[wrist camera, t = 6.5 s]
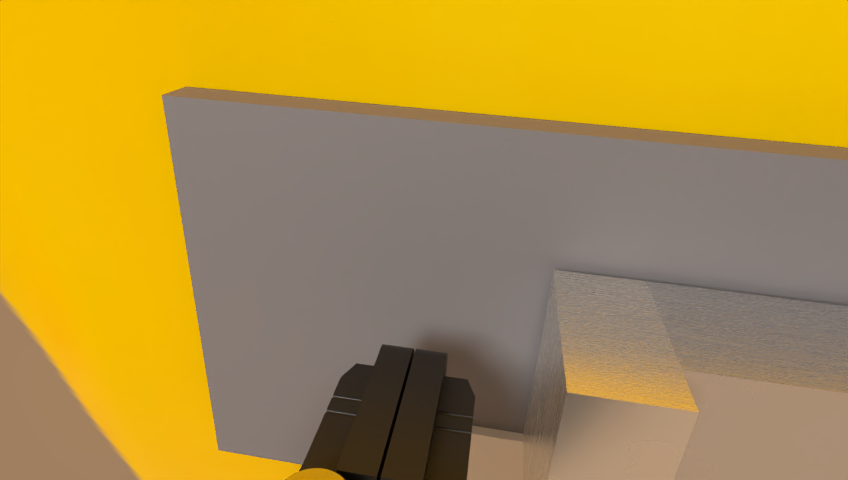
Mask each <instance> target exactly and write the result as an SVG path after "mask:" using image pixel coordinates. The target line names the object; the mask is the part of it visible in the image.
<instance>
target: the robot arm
mask: <svg viewBox="0 0 848 480" xmlns="http://www.w3.org/2000/svg"><path fill="white" fill-rule="evenodd" d="M447 357H448V353H444V352H436V351H429V350H422V349H416V350H415V352H414V348H407V347H400V346H393V345H386V344H383V345H382V346H381V348H380V351H379V354H378V356H377V359H376V362H375V364H374V366H372V365H365V364H358V363H356V364H355V365H354V366H353V367H352V368H350V369H349V370H348V371H347V372H346V373H345V374H344V375H343V376H341V378H340V380H339V382H338V385H337V387H336V389H335V391H334V394H333V398H331V401H330V403H329V405H328V407H327V411H326V413H325V414H324V416H323V419H322V421H321V423H320V426H319V428H318V430H317V432H316V435H315V437H314V439H313V442H312V444H311V446H310V448H309V451H308V453H307V455H306V458H305V460H304V462H303V464H302V467H301V468H300V470H299V472H297V473H294V474H293V475H291V476H289V477H288V478H287V479H285V480H467V473H468V463H469V454H470V444H471V434H472V424H473V415H474V405H475V395H474V393H473V391H472V388H471V386H470V384H469V381H468V379H462V378H455V377H448V376H446V369H447Z"/></svg>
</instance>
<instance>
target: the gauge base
mask: <svg viewBox="0 0 848 480" xmlns="http://www.w3.org/2000/svg"><path fill="white" fill-rule="evenodd" d="M162 99H163V105H164V111H165V117H166V124H167V130H168V136H169V142H170V149H171V155H172V161H173V167H174V174H175V180H176V186H177V192H178V199H179V205H180V211H181V217H182V224H183V230H184V236H185V242H186V249H187V255H188V261H189V267H190V274H191V280H192V286H193V293H194V299H195V305H196V311H197V318H198V324H199V330H200V336H201V343H202V349H203V355H204V361H205V368H206V374H207V380H208V386H209V393H210V399H211V405H212V411H213V418H214V424H215V430H216V436H217V443H218V449H219V450H221V451H227V452H233V453H238V454H244V455H250V456H256V457H261V458H267V459H273V460H279V461H284V462H290V463H296V464H303V462H304V460H305V458H306V455H307V453H308V451H309V448H310V446H311V444H312V442H313V439H314V437H315V435H316V432H317V430H318V428H319V426H320V423H321V421H322V419H323V416H324V414H325V413H326V411H327V407H328V405H329V403H330V401H331V398H333V394H334V391H335V389H336V387H337V385H338V382H339V380H340V378H341V376H343V375H344V374H345V373H346V372H347V371H348V370H349V369H350V368H352V367H353V366H354V365H355V364H356V363H358V364H365V365H372V366H374V364H375V362H376V359H377V356H378V354H379V351H380V348H381V346H382V345H383V344H386V345H393V346H400V347H407V348H414V352H415V350H416V349H422V350H429V351H436V352H444V353H448V357H447V369H446V376H448V377H455V378H462V379H468V381H469V384H470V386H471V388H472V391H473V393H474V395H475V405H474V415H473V424H472V434H471V444H470V454H469V463H468V473H467V480H523V431H524V426H525V420H526V415H527V410H528V404H529V399H530V394H531V388H532V383H533V378H534V372H535V367H536V362H537V356H538V351H539V345H540V340H541V335H542V329H543V324H544V319H545V313H546V308H547V303H548V297H549V292H550V286H551V281H552V276H553V270H560V271H568V272H576V273H584V274H592V275H600V276H608V277H616V278H624V279H633V280H641V281H649V282H657V283H665V284H673V285H681V286H689V287H697V288H705V289H713V290H721V291H729V292H738V293H746V294H754V295H762V296H770V297H778V298H786V299H794V300H802V301H810V302H818V303H826V304H834V305H843V306H848V148H843V147H832V146H821V145H811V144H800V143H789V142H778V141H767V140H756V139H746V138H735V137H724V136H713V135H702V134H692V133H681V132H670V131H659V130H648V129H638V128H627V127H616V126H605V125H594V124H584V123H573V122H562V121H551V120H540V119H530V118H519V117H508V116H497V115H486V114H476V113H465V112H454V111H443V110H432V109H421V108H411V107H400V106H389V105H378V104H367V103H357V102H346V101H335V100H324V99H313V98H303V97H292V96H281V95H270V94H259V93H249V92H238V91H227V90H216V89H205V88H195V87H184V88H181V89H178V90H176V91H173V92H170V93H167V94H164V95H162Z"/></svg>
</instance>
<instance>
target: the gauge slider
mask: <svg viewBox="0 0 848 480" xmlns="http://www.w3.org/2000/svg"><path fill="white" fill-rule="evenodd" d="M523 480H848V306H843V305H834V304H826V303H818V302H810V301H802V300H794V299H786V298H778V297H770V296H762V295H754V294H746V293H738V292H729V291H721V290H713V289H705V288H697V287H689V286H681V285H673V284H665V283H657V282H649V281H641V280H633V279H624V278H616V277H608V276H600V275H592V274H584V273H576V272H568V271H560V270H553V276H552V281H551V286H550V292H549V297H548V303H547V308H546V313H545V319H544V324H543V329H542V335H541V340H540V345H539V351H538V356H537V362H536V367H535V372H534V378H533V383H532V388H531V394H530V399H529V404H528V410H527V415H526V420H525V426H524V431H523Z"/></svg>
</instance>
